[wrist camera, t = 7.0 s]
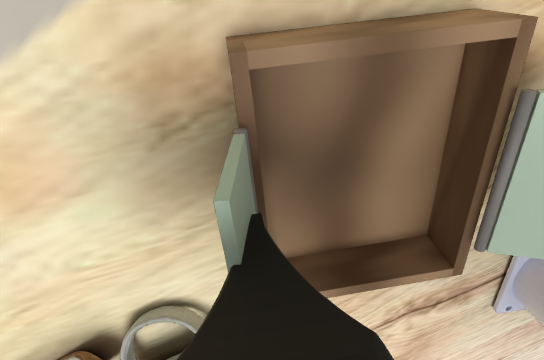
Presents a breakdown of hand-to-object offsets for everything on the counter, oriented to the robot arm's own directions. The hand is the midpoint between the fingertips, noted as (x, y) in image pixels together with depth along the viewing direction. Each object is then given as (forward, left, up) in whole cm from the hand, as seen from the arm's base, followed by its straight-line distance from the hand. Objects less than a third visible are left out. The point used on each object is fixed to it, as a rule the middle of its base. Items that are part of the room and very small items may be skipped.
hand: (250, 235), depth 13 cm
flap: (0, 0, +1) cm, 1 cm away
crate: (-6, 0, -5) cm, 8 cm away
